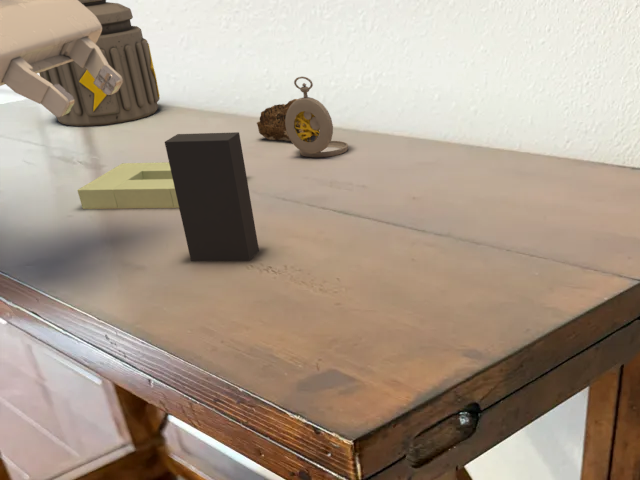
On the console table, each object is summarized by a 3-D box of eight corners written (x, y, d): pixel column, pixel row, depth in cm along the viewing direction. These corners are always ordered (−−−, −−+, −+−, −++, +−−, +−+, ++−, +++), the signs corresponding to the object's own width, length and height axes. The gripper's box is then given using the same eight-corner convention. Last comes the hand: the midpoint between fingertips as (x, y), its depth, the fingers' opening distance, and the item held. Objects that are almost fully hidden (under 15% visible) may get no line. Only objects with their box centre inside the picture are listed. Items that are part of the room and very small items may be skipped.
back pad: (191, 264, 79) (164, 141, 72) (202, 254, 81) (177, 133, 74) (250, 264, 78) (228, 140, 71) (259, 254, 80) (239, 132, 73)
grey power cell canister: (58, 112, 150) (-1, -94, 131) (162, 100, 152) (118, -103, 134) (48, 132, 135) (-21, -97, 117) (163, 119, 138) (113, -106, 119)
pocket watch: (344, 146, 114) (336, 65, 108) (354, 160, 108) (346, 74, 102) (286, 153, 113) (275, 71, 107) (293, 167, 107) (281, 81, 101)
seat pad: (83, 212, 96) (76, 189, 94) (127, 183, 105) (121, 163, 103) (211, 210, 93) (206, 187, 92) (244, 181, 102) (241, 160, 101)
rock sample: (339, 102, 119) (297, 65, 113) (339, 147, 118) (296, 113, 111) (289, 133, 126) (246, 100, 119) (288, 176, 124) (245, 145, 117)
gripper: (4, -6, 78) (127, 103, 82) (-141, 20, 62) (20, 154, 66) (30, -68, 74) (157, 50, 79) (-118, -56, 59) (51, 90, 63)
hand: (93, 98), depth 72 cm, fingers open, 8 cm apart
